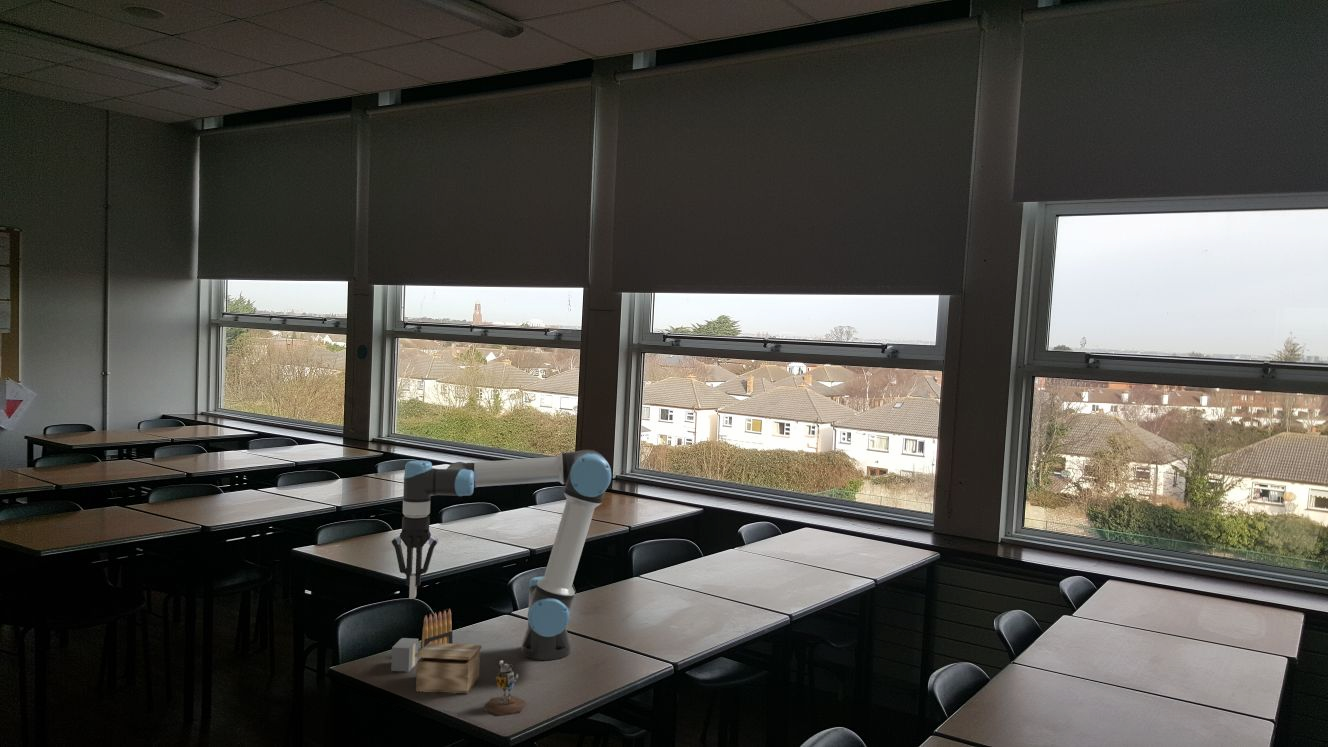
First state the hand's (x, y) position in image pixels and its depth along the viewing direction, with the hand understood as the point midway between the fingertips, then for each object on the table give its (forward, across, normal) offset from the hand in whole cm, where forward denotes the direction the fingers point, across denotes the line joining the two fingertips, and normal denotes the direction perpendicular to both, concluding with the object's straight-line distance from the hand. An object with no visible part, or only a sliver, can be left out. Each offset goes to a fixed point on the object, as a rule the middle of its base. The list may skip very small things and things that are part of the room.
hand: (412, 597), depth 244 cm
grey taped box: (+21, +2, -3) cm, 21 cm away
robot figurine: (+21, -29, +26) cm, 45 cm away
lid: (+12, -12, +11) cm, 20 cm away
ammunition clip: (+21, -5, -16) cm, 27 cm away
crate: (+21, -12, +10) cm, 26 cm away
